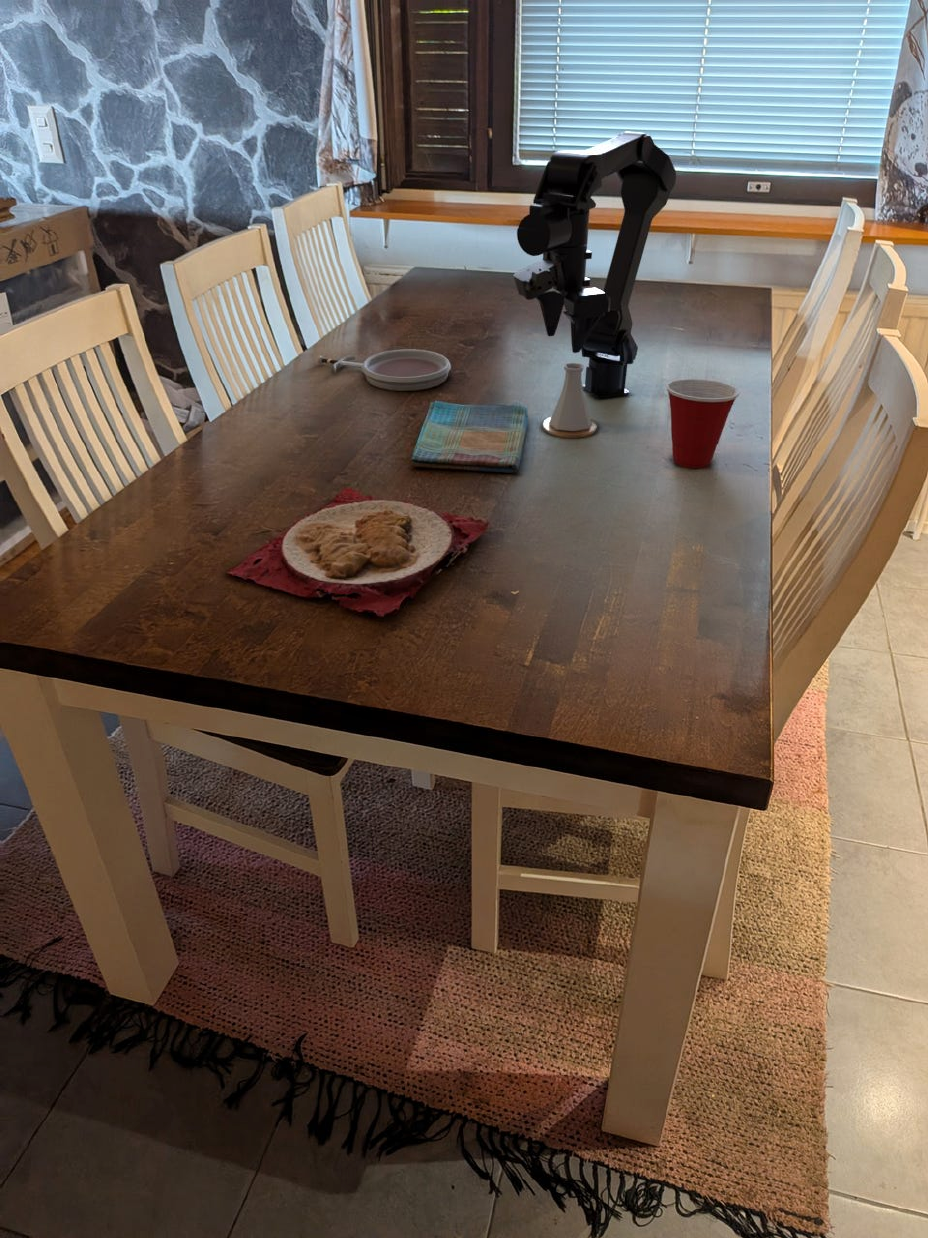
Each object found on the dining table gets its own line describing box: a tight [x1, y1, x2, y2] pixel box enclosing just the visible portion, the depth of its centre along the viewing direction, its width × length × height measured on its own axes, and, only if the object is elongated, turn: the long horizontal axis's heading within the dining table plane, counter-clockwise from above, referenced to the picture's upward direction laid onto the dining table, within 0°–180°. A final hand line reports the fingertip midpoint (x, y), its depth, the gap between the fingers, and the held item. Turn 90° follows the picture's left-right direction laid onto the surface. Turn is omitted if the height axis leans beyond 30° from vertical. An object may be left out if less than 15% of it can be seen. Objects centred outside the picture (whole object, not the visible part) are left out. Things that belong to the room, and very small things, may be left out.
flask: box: [549, 362, 592, 431], centre depth 150 cm, size 7×7×10 cm
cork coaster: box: [542, 416, 598, 439], centre depth 153 cm, size 9×9×1 cm
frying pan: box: [315, 348, 452, 392], centre depth 175 cm, size 17×3×28 cm
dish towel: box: [410, 400, 529, 474], centre depth 147 cm, size 17×23×2 cm
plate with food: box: [226, 487, 490, 618], centre depth 117 cm, size 24×26×4 cm
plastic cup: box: [665, 378, 741, 469], centre depth 139 cm, size 11×11×12 cm
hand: (563, 343), depth 149 cm, fingers open, 9 cm apart
